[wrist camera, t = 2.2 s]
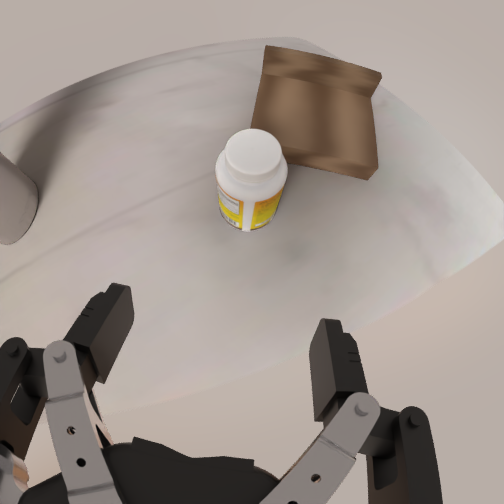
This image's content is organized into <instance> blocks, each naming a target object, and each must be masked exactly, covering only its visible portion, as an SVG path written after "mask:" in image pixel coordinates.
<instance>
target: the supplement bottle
mask: <svg viewBox="0 0 504 504" xmlns="http://www.w3.org/2000/svg"><path fill="white" fill-rule="evenodd" d="M287 172H288V169H287V163H286V160H285V158H284V156H283V154H282V150H281V146H280V144H279V142H278V141H277V139H276V138H275V137H274V136H273V135H271V134H270V133H268V132H266V131H263V130H260V129H245V130H242V131H239V132H237V133H235V134H234V135H233V136H232V137H231V138H230V139H229V140H228V142H227V144H226V147H225V148H224V149H223V151H222V152H221V153H220V155H219V156H218V159H217V161H216V166H215V174H216V182H217V190H218V197H219V205H220V211H221V214H222V216H223V218H224V220H225V221H226V222H227V223H228V224H229V225H230V226H232V227H233V228H235V229H237V230H241V231H247V232H249V231H256V230H259V229H261V228H263V227H265V226H266V225H267V224H268V223H269V222H270V221H271V220H272V218H273V217H274V214H275V211H276V209H277V206H278V203H279V200H280V197H281V194H282V191H283V188H284V185H285V182H286V178H287Z"/></svg>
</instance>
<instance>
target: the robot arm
mask: <svg viewBox="0 0 504 504" xmlns="http://www.w3.org/2000/svg"><path fill="white" fill-rule="evenodd" d="M37 204H38V191H37V187H36V185H35V183H34V182H33V181H32V180H31V179H29V178H28V177H27V176H26V175H25V174H24V173H23V172H22V171H20V170H19V169H18V168H17V167H16V166H15V165H14V164H13V163H12V162H11V161H9V160H8V159H7V158H6V157H5V156H4V155H3V154H2V153H1V152H0V243H1V244H5V245H8V244H12V243H14V242H16V241H17V240H19V239H20V238H21V237H22V236H23V235H24V234H25V232H26V231H27V229H28V228H29V226H30V224H31V222H32V220H33V218H34V215H35V213H36V209H37ZM133 321H134V308H133V302H132V295H131V289H130V287H129V286H126V285H122V284H117V283H112V284H111V285H110V286H109V288H108V289H107V291H106V292H105V293H103V292H100V293H98V294H97V295H95V296H94V297H92V298H91V299H90V301H89V302H88V304H87V305H86V306H85V308H84V309H83V311H82V312H81V315H79V317H78V318H77V319H76V321H75V322H74V324H73V325H72V327H71V328H70V330H69V331H68V333H67V335H66V336H65V338H64V339H63V340H59V341H55V342H52V343H51V344H49V345H48V346H47V347H46V349H42V348H29V347H28V346H27V344H26V342H25V341H24V340H23V339H22V338H19V337H14V338H10V339H8V340H7V341H6V342H5V343H4V344H3V345H2V346H1V348H0V504H326V503H327V501H328V500H329V499H330V498H331V496H332V495H333V494H334V492H335V491H336V490H337V488H338V487H339V485H340V484H341V483H342V481H343V480H344V478H345V477H346V476H347V474H348V473H349V471H350V470H351V468H352V467H353V465H354V464H355V461H356V458H355V456H356V454H357V453H361V454H365V455H366V460H367V476H368V502H369V504H443V501H442V492H441V485H440V478H439V471H438V465H437V459H436V454H435V448H434V443H433V439H432V434H431V430H430V425H429V421H428V418H427V416H426V414H425V413H424V412H423V411H422V410H421V409H420V408H417V407H414V406H409V407H406V408H404V409H403V410H402V411H401V412H397V411H393V410H389V409H385V408H383V407H380V406H379V403H378V402H377V400H376V399H375V398H374V397H373V396H371V395H369V393H368V389H367V385H366V380H365V376H364V371H363V367H362V364H361V359H360V355H359V352H358V347H357V343H356V341H355V340H354V339H353V338H352V336H351V335H350V333H343V329H342V325H341V322H340V320H334V319H325V318H322V319H321V320H320V322H319V325H318V327H317V330H316V332H315V335H314V337H313V339H312V342H311V345H310V350H309V359H310V370H311V380H312V392H313V393H312V394H313V406H314V421H318V422H323V425H324V429H323V430H322V431H321V432H320V434H319V435H318V436H317V437H316V439H315V440H314V441H313V442H312V444H311V445H310V446H309V447H308V448H307V450H306V451H305V452H304V453H303V454H302V455H301V457H300V458H299V459H298V460H297V461H296V462H295V463H294V464H293V466H291V468H290V469H289V470H288V471H287V472H286V473H285V474H284V475H283V476H282V477H281V478H280V479H277V478H276V477H275V476H274V475H272V474H271V473H269V472H267V471H266V470H263V469H261V468H259V467H256V466H254V460H253V459H243V458H242V459H241V458H233V457H225V456H220V457H204V458H191V457H188V456H186V455H183V454H181V453H179V452H176V451H175V450H173V449H171V448H169V447H166V446H164V445H162V444H159V443H155V442H151V441H148V440H144V439H140V438H137V437H134V438H133V441H132V443H118V444H114V443H113V441H112V439H111V436H110V434H109V433H108V430H107V428H106V426H105V423H104V421H103V418H102V415H101V412H100V409H99V406H98V402H97V399H96V396H95V393H94V390H93V386H94V384H95V382H96V381H97V382H100V383H103V384H105V381H106V379H107V377H108V375H109V373H110V371H111V368H112V366H113V364H114V362H115V360H116V358H117V356H118V354H119V351H120V349H121V347H122V345H123V343H124V341H125V339H126V337H127V335H128V333H129V331H130V329H131V327H132V325H133ZM18 386H19V387H18ZM17 388H18V389H17ZM16 390H17V391H16ZM15 392H16V394H15ZM14 394H15V396H14ZM13 396H14V398H13ZM12 398H13V400H12ZM48 398H49V400H48ZM11 400H12V402H11ZM44 407H45V409H46V414H47V419H48V424H49V428H50V433H51V437H52V441H53V445H54V448H55V452H56V456H57V459H58V462H59V466H60V469H61V473H59V474H57V475H55V476H53V477H51V478H49V479H47V480H45V481H43V482H41V483H39V484H37V485H35V486H33V487H31V488H28V485H27V482H28V481H29V475H28V471H27V467H26V465H25V463H24V460H25V456H26V454H27V451H28V448H29V445H30V442H31V440H32V437H33V434H34V431H35V429H36V426H37V424H38V421H39V419H40V416H41V414H42V411H43V409H44Z"/></svg>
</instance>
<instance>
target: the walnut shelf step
mask: <svg viewBox="0 0 504 504" xmlns="http://www.w3.org/2000/svg"><path fill="white" fill-rule="evenodd" d="M381 79H382V75H381V73H380V72H377V71H374V70H371V69H368V68H365V67H362V66H358V65H355V64H352V63H348V62H345V61H341V60H337V59H334V58H330V57H326V56H321V55H317V54H313V53H308V52H303V51H298V50H293V49H287V48H281V47H275V46H268V45H266V46H265V52H264V60H263V68H262V75H261V80H260V85H259V89H258V94H257V99H256V104H255V108H254V113H253V118H252V123H251V128H250V129H260V130H263V131H266V132H268V133H270V134H271V135H273V136H274V137H275V138H276V139H277V141H278V142H279V144H280V146H281V150H282V154H283V156H284V158H285V160H286V163H290V164H296V165H301V166H306V167H311V168H316V169H321V170H325V171H330V172H335V173H339V174H344V175H348V176H352V177H356V178H360V179H364V180H368V179H369V178H370V177H371V176H372V175H373V173H374V172H375V171H376V170H377V169H378V156H377V145H376V135H375V127H374V119H373V111H372V104H371V97H372V95H373V93H374V91H375V89H376V88H377V86H378V84H379V82H380V80H381Z"/></svg>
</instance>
